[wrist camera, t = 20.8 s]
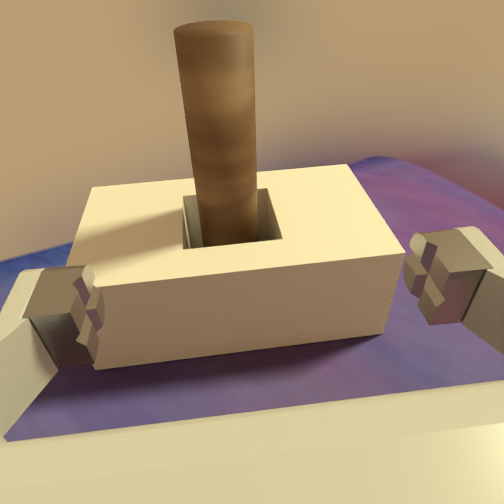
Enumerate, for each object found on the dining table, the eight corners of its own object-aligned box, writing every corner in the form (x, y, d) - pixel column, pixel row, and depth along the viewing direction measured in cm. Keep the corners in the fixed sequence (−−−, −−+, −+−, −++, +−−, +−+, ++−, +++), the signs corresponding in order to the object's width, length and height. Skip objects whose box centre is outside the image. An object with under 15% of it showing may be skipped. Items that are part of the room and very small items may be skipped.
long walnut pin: (238, 317, 24) (217, 41, 14) (199, 294, 26) (156, 32, 16) (269, 286, 26) (268, 25, 16) (231, 267, 28) (209, 18, 18)
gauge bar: (383, 333, 23) (405, 252, 19) (94, 370, 22) (56, 291, 18) (336, 237, 30) (346, 163, 26) (116, 261, 28) (92, 187, 25)
